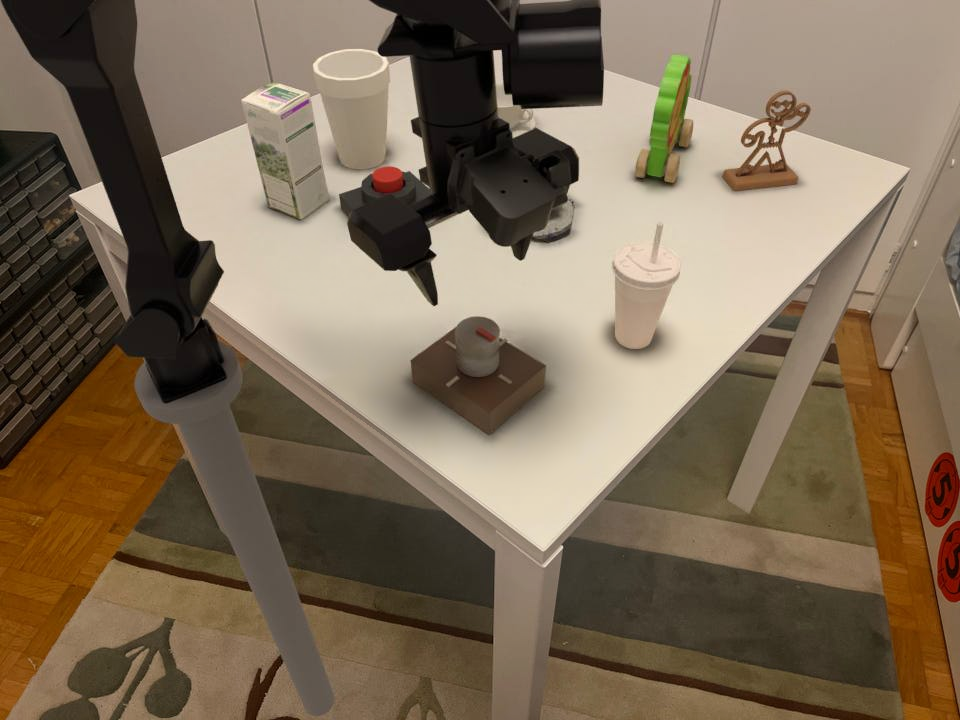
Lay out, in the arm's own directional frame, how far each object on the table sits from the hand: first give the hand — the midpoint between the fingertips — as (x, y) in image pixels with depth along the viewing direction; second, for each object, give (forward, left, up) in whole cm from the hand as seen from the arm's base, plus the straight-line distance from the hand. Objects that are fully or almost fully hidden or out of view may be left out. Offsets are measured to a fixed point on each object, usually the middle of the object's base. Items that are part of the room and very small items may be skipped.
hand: (477, 280), depth 64 cm
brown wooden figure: (+50, +10, -12) cm, 53 cm away
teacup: (+30, +41, -12) cm, 53 cm away
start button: (+6, +30, -8) cm, 32 cm away
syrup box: (-3, +38, -12) cm, 40 cm away
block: (+6, +30, -12) cm, 33 cm away
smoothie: (+16, -4, -12) cm, 21 cm away
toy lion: (+42, +20, -12) cm, 49 cm away
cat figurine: (+20, +19, -12) cm, 31 cm away
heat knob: (-1, -1, -9) cm, 9 cm away
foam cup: (+9, +44, -12) cm, 47 cm away
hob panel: (-1, -1, -12) cm, 12 cm away
